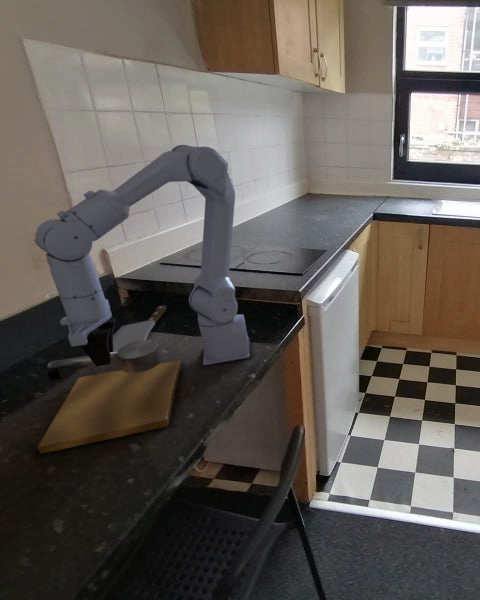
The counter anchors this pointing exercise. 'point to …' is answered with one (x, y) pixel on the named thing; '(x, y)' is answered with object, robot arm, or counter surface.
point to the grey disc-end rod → (130, 357)
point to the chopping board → (113, 407)
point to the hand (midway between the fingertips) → (105, 361)
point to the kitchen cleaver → (136, 330)
